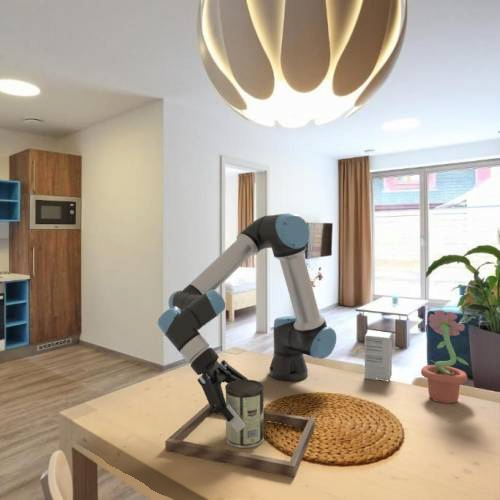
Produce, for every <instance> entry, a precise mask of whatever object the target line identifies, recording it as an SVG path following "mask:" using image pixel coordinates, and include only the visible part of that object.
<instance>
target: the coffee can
mask: <svg viewBox="0 0 500 500" xmlns="http://www.w3.org/2000/svg"><path fill="white" fill-rule="evenodd" d="M224 389H225V402H226V406H227V405H228V404H229V405H230V406H231V407H232V409H233V410H234V411H235V412H236V414H237V415H238V416H239V417H240V419H241V420H242V421H243V422H244V423H245V425H246V426H245V427H244V428H243V429H242V430H240V431H239V432H238V433H237V432H236V430H235V429H234V428H233V427H232V425H231V424H230V423H229V422H228V421H227V420H226V419H225V441H226V443H227V444H228V445H230V446H232V447H234V448H238V449H251V448H255V447H257V446H259V445H261V444H262V443H263V442H264V439H265V435H264V433H265V431H264V430H265V429H264V427H265V426H264V423H265V422H264V411H265V410H264V390H265V385H264V384H263V383H262V382H261V381H257V380H254V379H248V380H236V381H232V382H229V383H226V384H225V388H224Z"/></svg>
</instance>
